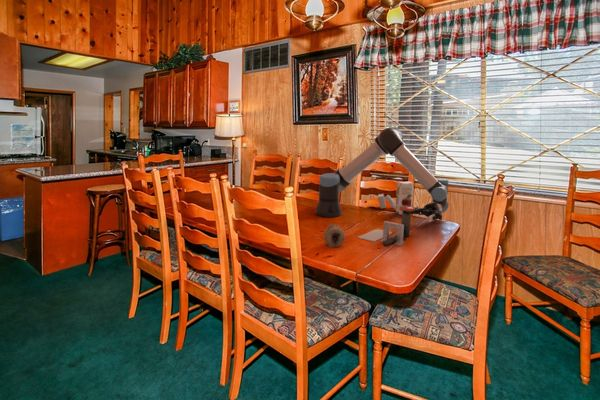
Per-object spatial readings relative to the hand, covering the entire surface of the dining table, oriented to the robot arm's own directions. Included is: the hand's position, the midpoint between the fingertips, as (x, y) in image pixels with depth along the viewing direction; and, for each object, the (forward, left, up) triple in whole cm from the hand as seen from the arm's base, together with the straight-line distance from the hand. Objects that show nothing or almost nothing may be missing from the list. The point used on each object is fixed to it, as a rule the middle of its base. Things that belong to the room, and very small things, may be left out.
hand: (415, 216), depth 188 cm
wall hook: (-35, +38, -8) cm, 52 cm away
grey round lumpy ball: (-17, -44, -8) cm, 48 cm away
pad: (-11, -20, -7) cm, 24 cm away
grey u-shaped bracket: (0, -24, -7) cm, 25 cm away
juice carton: (-21, +32, -8) cm, 39 cm away
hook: (0, -19, -7) cm, 20 cm away
